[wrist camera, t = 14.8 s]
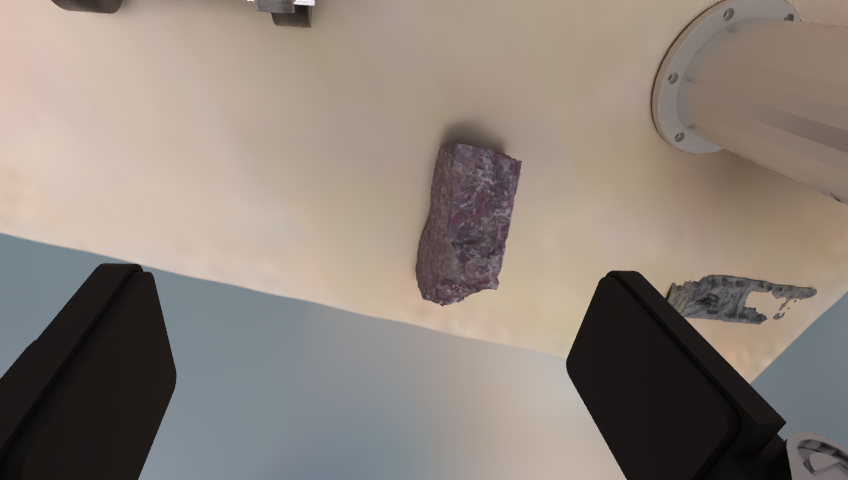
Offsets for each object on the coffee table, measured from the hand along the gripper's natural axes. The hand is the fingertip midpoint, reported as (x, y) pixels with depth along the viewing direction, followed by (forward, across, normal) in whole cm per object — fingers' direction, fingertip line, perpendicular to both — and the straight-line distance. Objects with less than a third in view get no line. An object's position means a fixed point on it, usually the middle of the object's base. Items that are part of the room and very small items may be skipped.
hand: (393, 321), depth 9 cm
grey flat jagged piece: (+28, -46, +22) cm, 58 cm away
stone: (+27, -9, +11) cm, 30 cm away
